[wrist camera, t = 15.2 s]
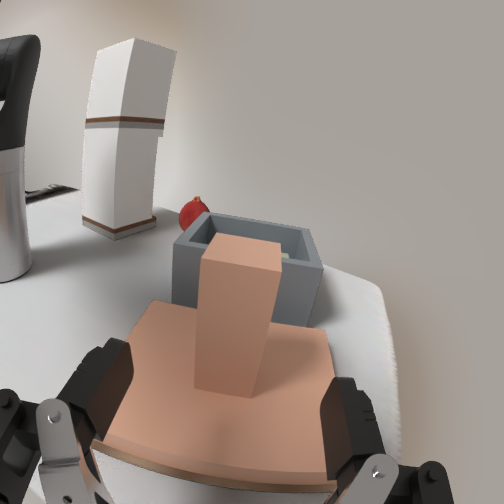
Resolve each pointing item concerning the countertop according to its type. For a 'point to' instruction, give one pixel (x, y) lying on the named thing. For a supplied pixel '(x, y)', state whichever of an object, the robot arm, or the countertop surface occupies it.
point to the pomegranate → (191, 212)
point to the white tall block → (124, 136)
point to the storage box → (291, 238)
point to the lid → (228, 377)
